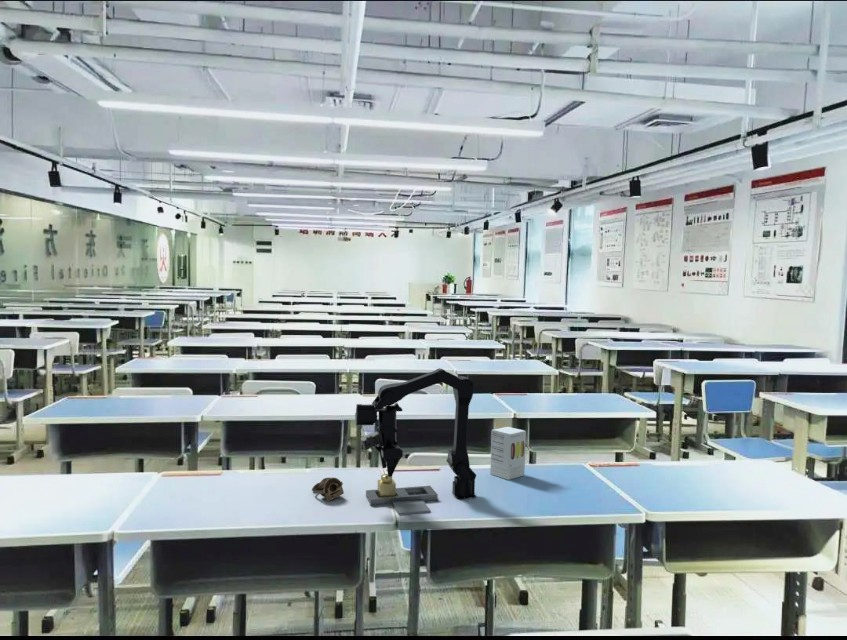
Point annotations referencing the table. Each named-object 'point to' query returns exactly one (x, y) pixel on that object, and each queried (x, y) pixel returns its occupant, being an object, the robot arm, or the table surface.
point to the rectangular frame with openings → (403, 495)
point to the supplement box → (508, 452)
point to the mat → (411, 507)
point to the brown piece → (329, 488)
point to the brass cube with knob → (386, 487)
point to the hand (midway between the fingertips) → (387, 472)
